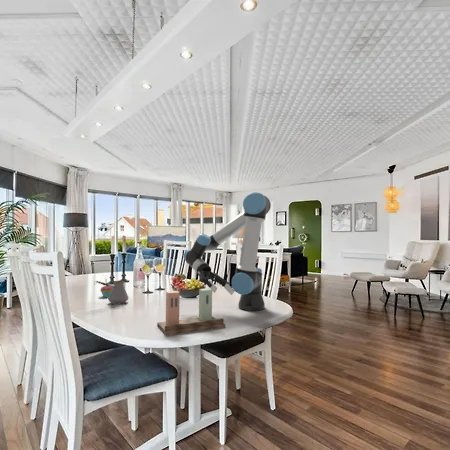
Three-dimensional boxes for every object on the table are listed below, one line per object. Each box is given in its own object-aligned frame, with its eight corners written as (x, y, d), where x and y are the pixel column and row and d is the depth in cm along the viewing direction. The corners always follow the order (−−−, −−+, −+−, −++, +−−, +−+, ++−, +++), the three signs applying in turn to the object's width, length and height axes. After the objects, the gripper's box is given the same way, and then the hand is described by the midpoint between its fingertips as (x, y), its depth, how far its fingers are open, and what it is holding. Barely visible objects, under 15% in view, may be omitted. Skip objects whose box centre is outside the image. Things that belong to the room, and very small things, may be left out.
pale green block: (208, 317, 145) (208, 288, 145) (212, 319, 141) (212, 289, 141) (198, 318, 143) (199, 289, 143) (202, 321, 139) (202, 290, 139)
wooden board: (211, 319, 149) (211, 311, 149) (225, 327, 135) (225, 319, 135) (157, 325, 137) (157, 318, 137) (166, 335, 123) (166, 327, 123)
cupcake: (97, 296, 198) (97, 278, 198) (108, 294, 205) (109, 277, 205) (105, 298, 193) (105, 279, 194) (116, 296, 200) (117, 278, 201)
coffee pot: (120, 300, 189) (121, 276, 189) (132, 302, 182) (132, 277, 183) (88, 306, 171) (89, 280, 172) (100, 309, 165) (101, 282, 165)
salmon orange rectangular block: (176, 321, 138) (176, 290, 138) (179, 324, 134) (179, 292, 134) (165, 322, 135) (166, 291, 136) (168, 325, 132) (168, 293, 132)
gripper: (213, 277, 176) (235, 299, 161) (182, 270, 158) (204, 295, 143) (220, 266, 175) (243, 287, 160) (189, 258, 156) (211, 282, 142)
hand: (224, 291), depth 152 cm, fingers open, 13 cm apart
